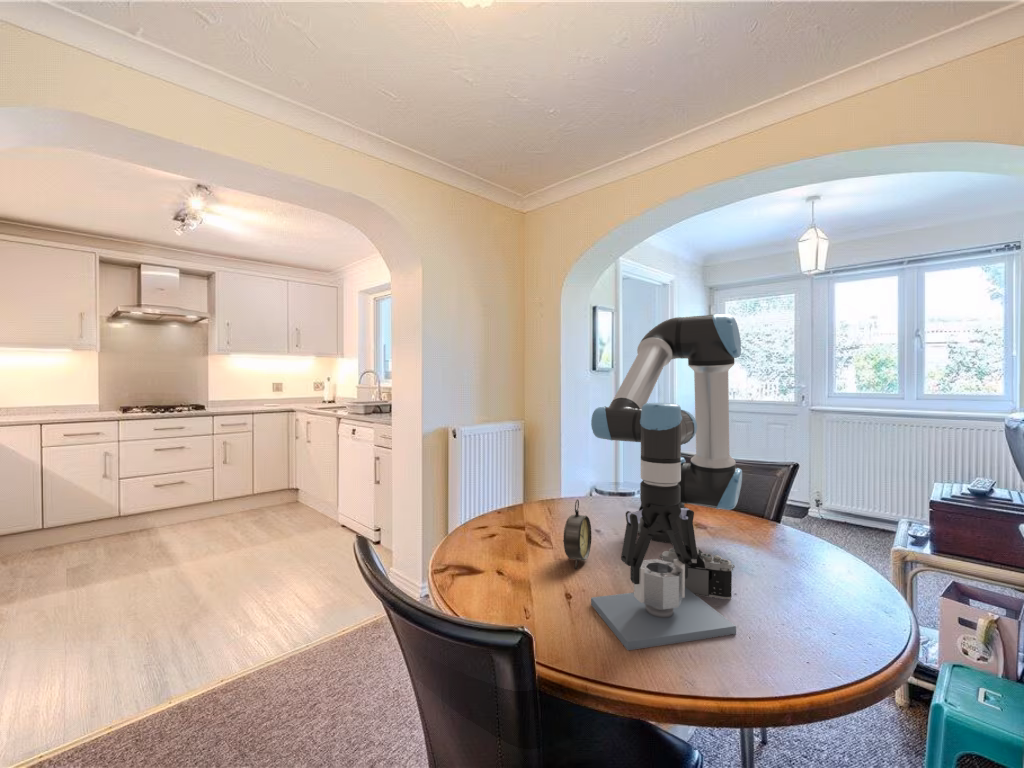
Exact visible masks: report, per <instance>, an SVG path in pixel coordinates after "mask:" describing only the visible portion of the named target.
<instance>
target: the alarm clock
mask: <svg viewBox="0 0 1024 768" xmlns="http://www.w3.org/2000/svg"><path fill="white" fill-rule="evenodd" d="M579 506H580V501H579V499H578V498H577V499H576V500H575V503H574V513H575V514H571V515H569V516H568V517H567V519H566V522H565V525H564V530H563V540H562V542H563V548H564V552H565V555H566V557H567V558H568V560H575V563H574V564H575V565H574V570H577V569H578V565H579V561H586V560H588V557H589V555H590V553H591V552H590V551H591V546H592V525H591V520H590V518H589V516H587V515H581V514H579V508H580V507H579Z"/></svg>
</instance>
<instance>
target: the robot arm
mask: <svg viewBox="0 0 1024 768" xmlns="http://www.w3.org/2000/svg"><path fill="white" fill-rule="evenodd" d="M636 351H637V353H636V354H637V356H636V357H635V359H634V361H633V362H632V364H631V366H630V368H629V370H628V372H627V373H626V376H625V377H624V379H623V381H622V383H621V384H620V386H619V388H618V390H617V392H616V394H615V395H614V397H613V399H612V401H611V403H610V405H609V406H602V407H599V406H598V407H597V408H595V409H594V411H592V416H591V421H590V422H591V423H590V424H591V425H590V426H591V430H592V434H593V435H594V436H595V438H598V439H601V440H608V441H616V442H617V441H618V442H620V441H621V442H632V443H640V479H641V482H640V483H639V487H640V489H639V491H640V493H639V497H640V499H639V500H640V507H639V508H638V510H637V511H629V510H627V511H626V512H625V520H626V526H625V532H624V538H623V543H622V550H621V555H620V560H621V562H623V563H624V564H626V566H628V567H630V581H631V582H632V583H633V592H634V597H635V598H636V599H637V600H639V601H640V602H641V603H644V585H645V569H644V568H643V567H642V566H641V565H642V562H643V560H645V557H646V554H647V552H648V550H649V546H650V544H651V542H652V541H654V542H660V543H666V544H667V543H668V544H669V543H670V544H672V547H673V548H674V550H675V553H676V555H677V557H678V559H679V560H677V559H674V564H675V565H677V566H678V567H680V568H681V569H683V586H682V598H685V579H687V577H688V565H691V564H692V559H694V560H695V559H697V557H698V555H697V548H696V547H697V544H696V543H697V541H696V535H695V529H694V517H695V511H694V510H692V509H690V508H688V507H686V506H685V504H687V505H688V504H689V505H694V506H700V507H705V508H711V509H716V510H721V509H722V510H727V511H729V510H730V511H731V510H734V509H735V508H736V506H737V504H738V501H739V498H740V494H741V489H742V483H743V470H742V468H739V467H737V465H736V464H737V463H736V460H735V459H734V458H733V457H732V456H731V454H730V403H729V397H730V396H729V393H730V392H729V389H730V388H729V370H730V369H731V368H733V366H734V365H735V359H738V358H739V357H741V353H742V343H741V335H740V330H739V325H738V323H737V320H736V318H735V317H734V316H733V315H731V314H726V313H725V314H724V313H722V314H720V313H719V314H715V313H714V314H707V315H693V316H685V317H681V316H677V317H672V318H669V319H666V320H664V321H662V322H661V323H659V324H657V325H656V326H655V327H652V329H650V330H649V331H648V332H647V333H646V334H645V335H644V337H643V338H642V339H641V340H640V342H639V344H638V346H637V349H636ZM676 359H687V366H688V367H689V368H691V369H692V371H693V377H694V411H695V412H694V413H695V414H694V415H695V416H693V414H691V413H690V412H689V411H687V410H685V409H682V408H681V406H680V405H679V404H677V403H674V402H648V400H649V399H650V397H651V394H652V393H653V390H654V389H655V388H654V387H656V383H657V382H658V380H659V377H661V376H660V375H661V373H662V371H663V369H664V367H666V366H667V365H669V363H670V362H671V361H672V360H676ZM694 437H695V454H694V455H693V456H692V457H691V458H690V463H689V462H686V461H687V460H686V459H685V457H683V456H682V454H681V452H682V445H686V444H688V443H689V442H691V440H692V439H693V438H694ZM638 534H639V535H638Z"/></svg>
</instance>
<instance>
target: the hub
mask: <svg viewBox="0 0 1024 768" xmlns="http://www.w3.org/2000/svg"><path fill="white" fill-rule="evenodd" d="M641 566H642V567H643V568H644V569H645V585H644V604H645V605H649V606H652V607H656V608H660V609H670V608H678V607H679V606H680V604H681V602H682V586H683V569H681V568H680V567H678V566H677V565H675V564H674V563H672V562H668V561H663V560H661V559H658V558H655V559H654V558H653V559H644V560H643V562H642V565H641Z"/></svg>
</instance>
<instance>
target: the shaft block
mask: <svg viewBox="0 0 1024 768" xmlns="http://www.w3.org/2000/svg"><path fill="white" fill-rule="evenodd" d="M590 605H591V607H593V609H594V610H595V611H596V612H597V614H598V615H599V617H600V618H601V619H602V621H604V623H605V624H606V625H607V627H609V629H610V630H611V631H612V633H613V634H614V635H615V637H616V638H617V639H618V640H619V642H620V643H621V645H622V646H624V648H625V649H626V651H632V650H633V651H634V650H639V649H645V648H646V649H647V648H652V647H653V648H654V647H658V646H659V647H660V646H666V645H672V644H678V643H679V644H680V643H687V642H692V641H700V640H705V639H706V638H707V639H713V638H718V636H720V637H725V636H724V635H726V636H731V635H730V634H733V635H736V634H737V625H736V624H734V623H733V622H732V621H730V620H729V619H728V618H727V617H726V616H724V615H722V614H721V613H720V612H719V611H718V610H716V609H715V608H713V606H711V605H709V604H708V603H707V602H705V600H704V599H701V598H700V596H699V595H695V594H694V593H692V592H691V591H690V590H688V589H687V588H686V587H685V598H682V602H681V604H680V606H679V607H678V608H670V609H660V608H656V607H652V606H649V605H645V604H644V603H641V602H640V601H639V600H637V599H636V598H635V597H634V591H633V592H625V593H617V594H609V595H602V596H593V597H591V598H590ZM712 637H713V638H712Z"/></svg>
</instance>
